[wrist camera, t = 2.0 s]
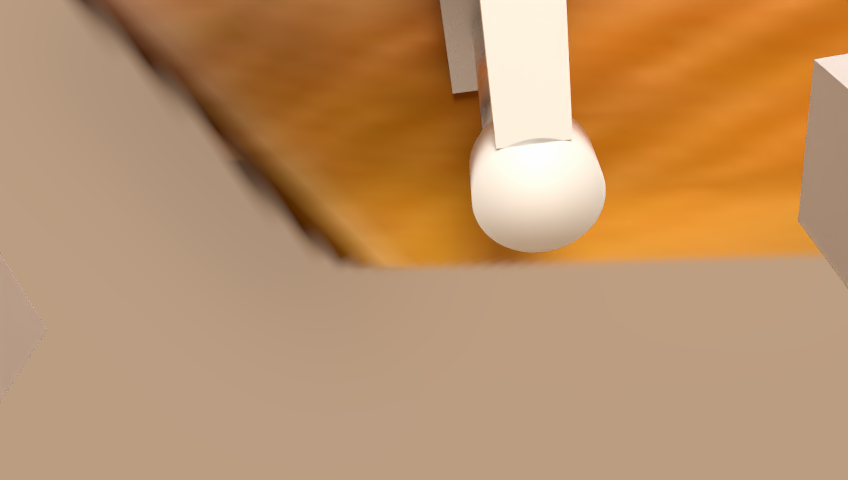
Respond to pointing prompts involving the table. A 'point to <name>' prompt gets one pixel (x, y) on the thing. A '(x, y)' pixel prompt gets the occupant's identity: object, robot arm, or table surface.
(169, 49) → the table surface
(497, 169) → the swing arm
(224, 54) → the table surface
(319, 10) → the table surface
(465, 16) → the post
